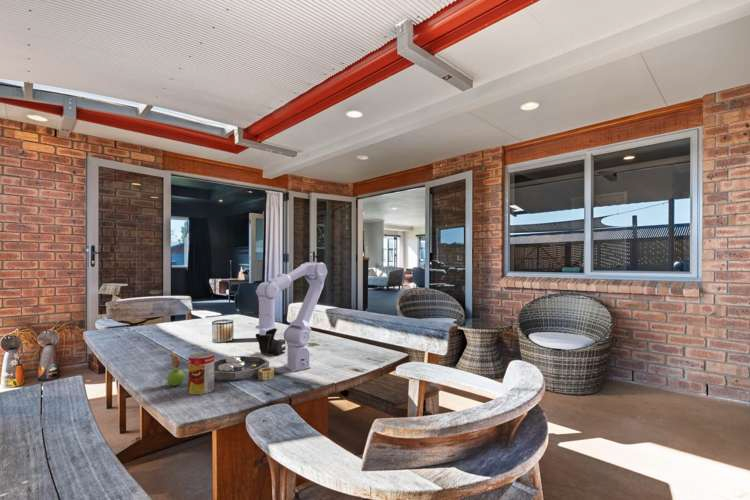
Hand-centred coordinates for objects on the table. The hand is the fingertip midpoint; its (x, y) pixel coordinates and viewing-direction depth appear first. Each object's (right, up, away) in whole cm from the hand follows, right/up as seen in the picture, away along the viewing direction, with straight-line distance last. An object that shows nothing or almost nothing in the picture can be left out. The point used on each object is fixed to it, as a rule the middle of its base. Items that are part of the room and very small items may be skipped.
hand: (266, 350), depth 136 cm
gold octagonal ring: (+1, -10, -2) cm, 10 cm away
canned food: (-17, -9, -15) cm, 25 cm away
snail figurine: (-29, -10, -10) cm, 32 cm away
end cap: (-6, -11, +31) cm, 34 cm away
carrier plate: (-13, -10, +5) cm, 17 cm away
